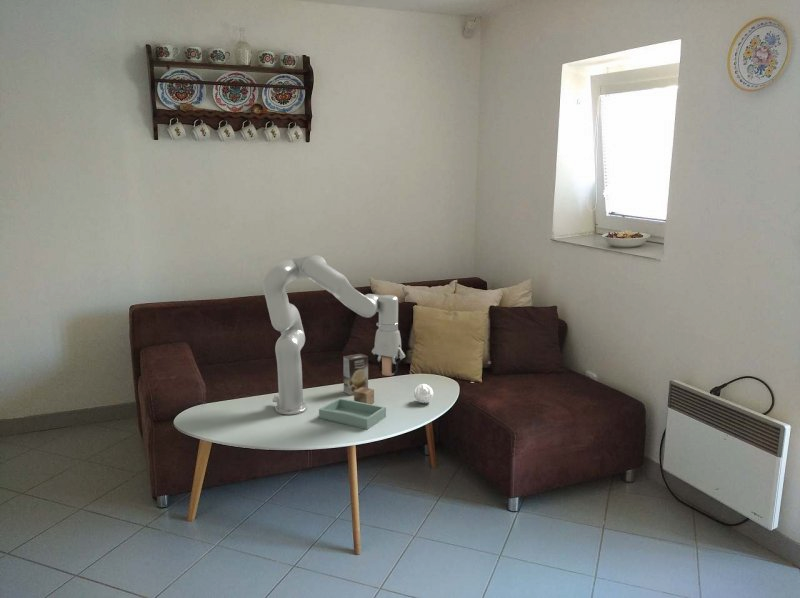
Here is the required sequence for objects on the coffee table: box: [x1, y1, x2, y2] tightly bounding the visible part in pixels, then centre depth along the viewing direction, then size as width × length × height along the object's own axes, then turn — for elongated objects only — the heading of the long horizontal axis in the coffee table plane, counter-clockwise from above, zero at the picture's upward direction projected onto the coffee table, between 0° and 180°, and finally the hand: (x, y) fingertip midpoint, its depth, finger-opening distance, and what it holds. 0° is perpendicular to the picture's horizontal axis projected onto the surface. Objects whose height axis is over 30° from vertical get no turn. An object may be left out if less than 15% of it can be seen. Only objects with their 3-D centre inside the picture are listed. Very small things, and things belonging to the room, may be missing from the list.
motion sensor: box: [413, 383, 434, 404], centre depth 261 cm, size 8×8×8 cm
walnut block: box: [353, 387, 375, 405], centre depth 259 cm, size 6×6×6 cm
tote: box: [318, 397, 387, 431], centre depth 245 cm, size 22×14×4 cm, turn 62°
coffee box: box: [342, 353, 369, 396], centre depth 273 cm, size 9×6×16 cm
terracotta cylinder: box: [381, 356, 395, 376], centre depth 248 cm, size 5×5×7 cm
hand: (388, 371), depth 249 cm, fingers closed on terracotta cylinder, 5 cm apart
